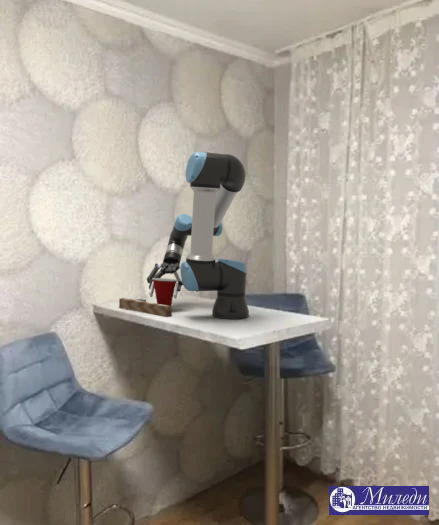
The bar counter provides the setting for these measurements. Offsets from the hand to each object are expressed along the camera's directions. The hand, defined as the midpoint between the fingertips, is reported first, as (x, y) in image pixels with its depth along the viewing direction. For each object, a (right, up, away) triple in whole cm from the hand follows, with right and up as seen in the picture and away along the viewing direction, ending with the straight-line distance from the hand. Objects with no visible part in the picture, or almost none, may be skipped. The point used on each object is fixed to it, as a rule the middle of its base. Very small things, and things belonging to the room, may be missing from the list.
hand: (162, 296), depth 200 cm
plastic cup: (0, -5, +3) cm, 6 cm away
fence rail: (-5, -6, +2) cm, 8 cm away
